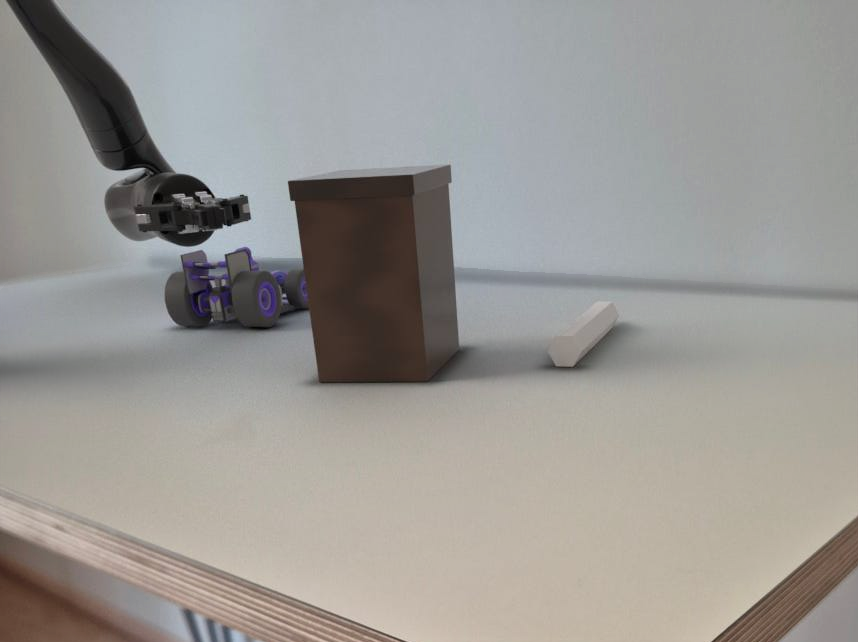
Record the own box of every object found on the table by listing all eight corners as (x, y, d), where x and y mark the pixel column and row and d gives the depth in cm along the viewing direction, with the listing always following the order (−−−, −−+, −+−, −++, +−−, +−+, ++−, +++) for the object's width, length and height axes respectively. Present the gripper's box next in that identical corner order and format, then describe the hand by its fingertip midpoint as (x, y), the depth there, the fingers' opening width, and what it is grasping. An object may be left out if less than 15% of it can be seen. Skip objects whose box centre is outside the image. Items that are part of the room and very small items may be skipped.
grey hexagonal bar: (613, 330, 82) (568, 374, 69) (592, 317, 82) (543, 358, 69) (629, 302, 80) (586, 341, 67) (608, 289, 80) (561, 325, 67)
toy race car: (335, 301, 98) (326, 232, 95) (259, 332, 86) (246, 254, 83) (254, 301, 102) (243, 234, 98) (169, 331, 89) (154, 256, 86)
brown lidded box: (311, 383, 68) (282, 181, 62) (357, 350, 77) (336, 170, 71) (429, 382, 67) (412, 174, 60) (462, 348, 75) (450, 164, 69)
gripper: (109, 178, 107) (140, 182, 93) (226, 168, 112) (271, 171, 98) (125, 250, 111) (157, 265, 97) (238, 237, 116) (283, 249, 102)
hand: (214, 217), depth 98 cm, fingers closed
